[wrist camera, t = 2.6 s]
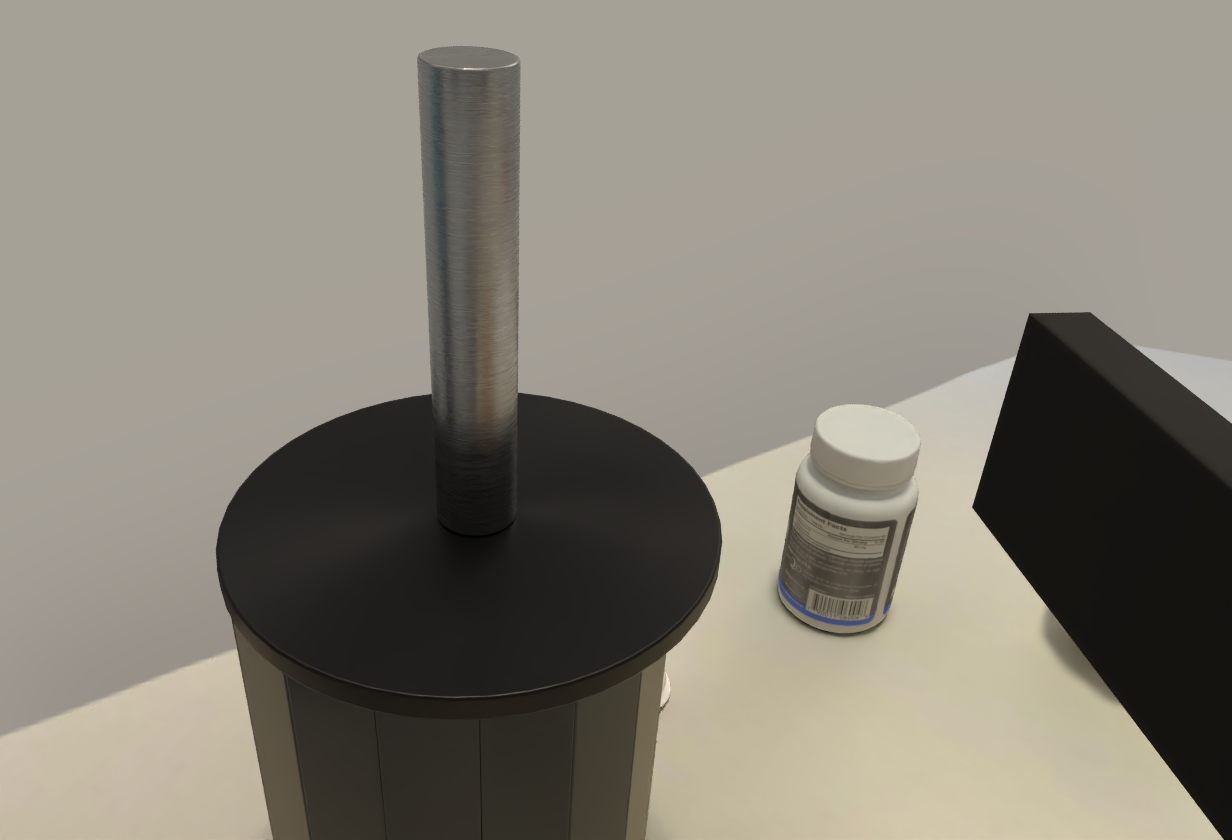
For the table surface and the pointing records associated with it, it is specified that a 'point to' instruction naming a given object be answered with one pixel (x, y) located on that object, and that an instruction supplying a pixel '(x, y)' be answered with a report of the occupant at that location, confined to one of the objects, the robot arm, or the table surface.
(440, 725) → the faceted pencil cup
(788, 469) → the table surface
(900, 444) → the pill bottle
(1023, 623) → the table surface
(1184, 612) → the robot arm
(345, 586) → the lid
